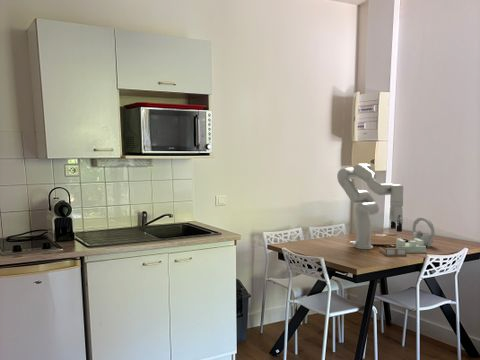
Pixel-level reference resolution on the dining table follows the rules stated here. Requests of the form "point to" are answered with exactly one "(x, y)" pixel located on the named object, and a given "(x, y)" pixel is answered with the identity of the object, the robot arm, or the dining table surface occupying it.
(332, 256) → the dining table surface
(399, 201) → the robot arm
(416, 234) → the headphones
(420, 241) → the stand
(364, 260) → the dining table surface
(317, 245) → the dining table surface
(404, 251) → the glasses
